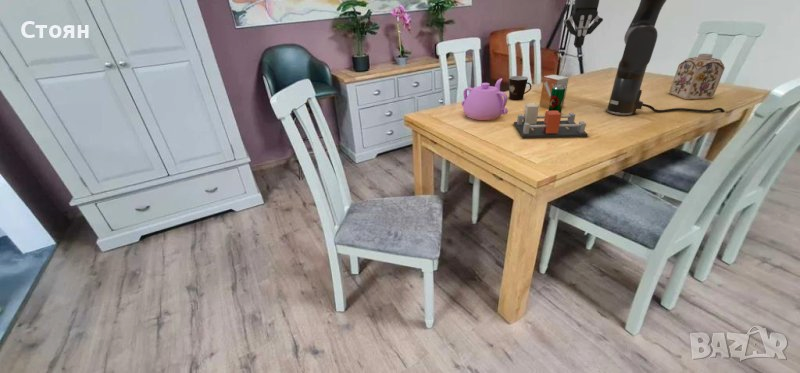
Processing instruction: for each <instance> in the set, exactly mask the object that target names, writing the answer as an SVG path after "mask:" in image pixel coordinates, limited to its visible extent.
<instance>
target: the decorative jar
mask: <svg viewBox="0 0 800 373" xmlns="http://www.w3.org/2000/svg"><path fill="white" fill-rule="evenodd" d="M725 69H726V67H725V64H724V63H723V62H722V60H721V59H720V58H718V59H717V58H715V57H713V53H699V54H698V55H697V56H694V57H688V58H687V59H684V60H683V61H681V62H680V63H679V64H678V66H677V69H676V71H675V74H674V77H673V80H672V82H671V86H670V89H669V92H668V94H669V95H672V96H675V97H678V98H680V99H683V100H705V99H707V100H708V99H714V96H715V93H716V91H717V89H718V87H719V84H720V82H721V79H722V76H723V74H724V71H725Z"/></svg>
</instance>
